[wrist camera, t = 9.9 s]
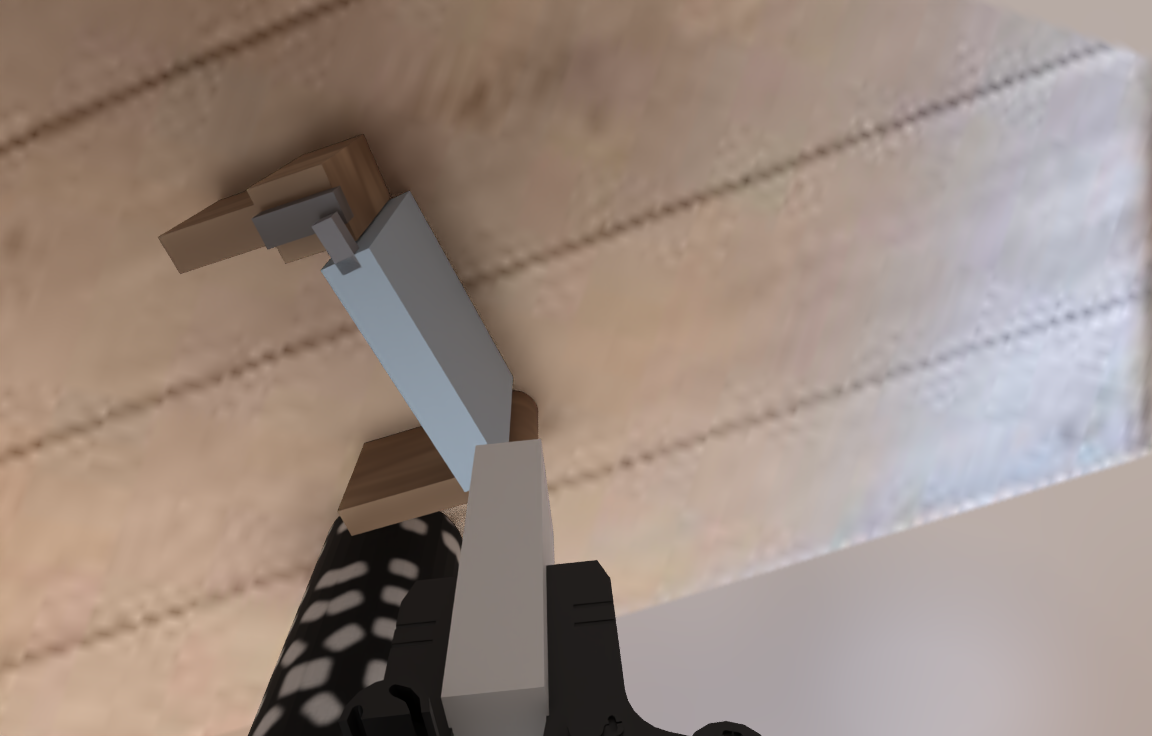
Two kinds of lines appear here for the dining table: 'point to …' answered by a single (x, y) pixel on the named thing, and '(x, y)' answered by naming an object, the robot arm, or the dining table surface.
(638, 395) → the dining table surface
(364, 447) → the pair of brown blocks
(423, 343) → the gate
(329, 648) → the white-spotted black cylinder
